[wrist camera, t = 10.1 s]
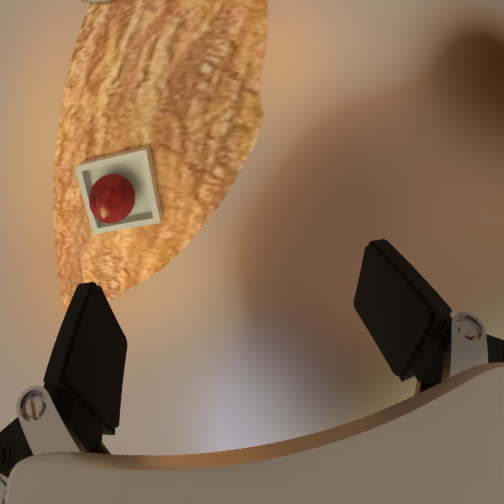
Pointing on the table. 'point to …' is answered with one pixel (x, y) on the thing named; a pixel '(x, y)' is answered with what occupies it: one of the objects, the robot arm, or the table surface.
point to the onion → (111, 198)
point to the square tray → (140, 176)
